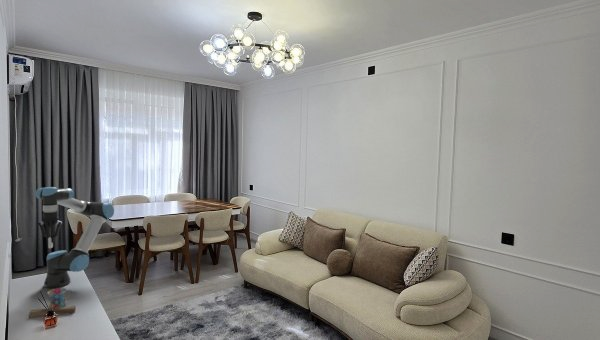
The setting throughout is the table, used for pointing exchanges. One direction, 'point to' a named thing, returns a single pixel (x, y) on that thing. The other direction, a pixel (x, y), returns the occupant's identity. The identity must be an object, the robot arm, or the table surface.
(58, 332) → the table surface
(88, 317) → the table surface
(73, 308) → the board
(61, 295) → the mug
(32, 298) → the table surface
